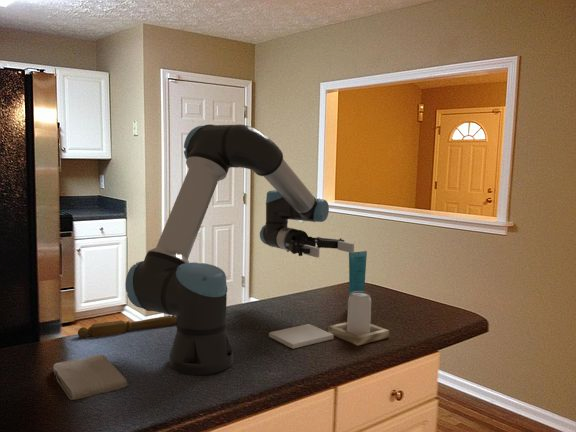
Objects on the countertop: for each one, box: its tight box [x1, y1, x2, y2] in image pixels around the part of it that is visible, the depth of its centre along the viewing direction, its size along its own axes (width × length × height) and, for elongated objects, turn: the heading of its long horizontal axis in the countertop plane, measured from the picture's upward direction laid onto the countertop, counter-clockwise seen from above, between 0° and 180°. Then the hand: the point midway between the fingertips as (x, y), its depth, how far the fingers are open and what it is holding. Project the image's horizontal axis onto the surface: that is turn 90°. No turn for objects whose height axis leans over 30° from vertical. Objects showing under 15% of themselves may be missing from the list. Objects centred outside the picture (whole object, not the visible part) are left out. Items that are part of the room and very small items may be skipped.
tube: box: [348, 250, 368, 296], centre depth 172 cm, size 7×5×19 cm, turn 127°
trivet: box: [268, 323, 335, 349], centre depth 144 cm, size 14×11×1 cm
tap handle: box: [77, 315, 177, 339], centre depth 147 cm, size 3×3×30 cm
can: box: [346, 291, 372, 336], centre depth 146 cm, size 6×6×12 cm
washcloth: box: [52, 353, 129, 401], centre depth 114 cm, size 12×18×3 cm, turn 38°
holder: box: [327, 321, 390, 347], centre depth 147 cm, size 12×12×2 cm
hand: (336, 250), depth 153 cm, fingers open, 13 cm apart
